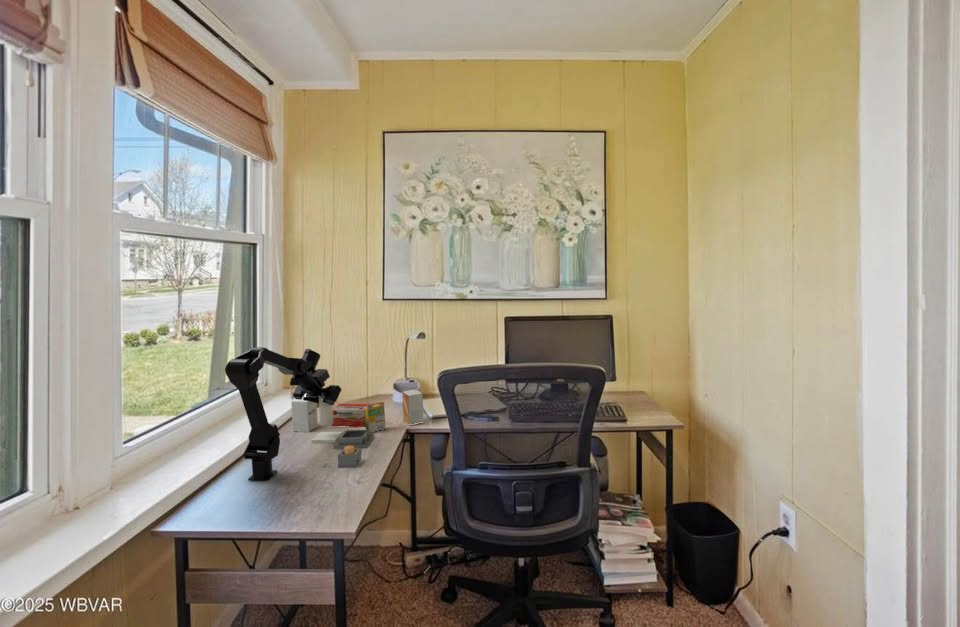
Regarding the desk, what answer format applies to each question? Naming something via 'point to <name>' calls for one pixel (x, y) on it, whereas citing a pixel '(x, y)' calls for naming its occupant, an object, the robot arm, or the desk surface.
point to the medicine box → (349, 415)
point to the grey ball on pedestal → (325, 412)
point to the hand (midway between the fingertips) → (328, 403)
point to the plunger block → (349, 458)
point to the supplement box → (304, 415)
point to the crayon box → (375, 417)
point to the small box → (412, 406)
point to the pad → (326, 437)
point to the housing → (354, 439)
